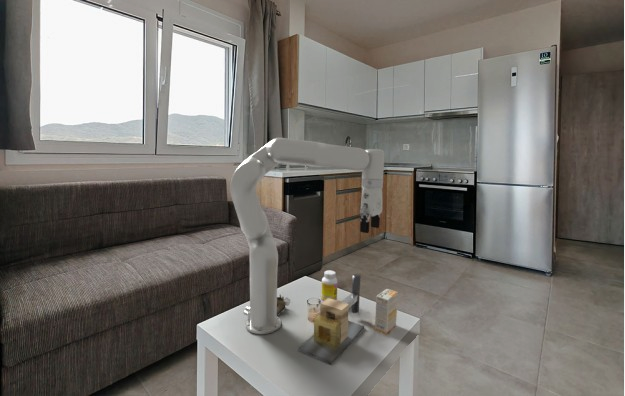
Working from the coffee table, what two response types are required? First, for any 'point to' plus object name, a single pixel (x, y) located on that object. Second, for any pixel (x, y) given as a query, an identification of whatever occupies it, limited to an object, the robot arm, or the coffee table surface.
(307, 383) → the coffee table surface
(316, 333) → the yellow square frame
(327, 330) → the block
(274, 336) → the coffee table surface
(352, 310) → the crank handle
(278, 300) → the eagle figurine
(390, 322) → the supplement box
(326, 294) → the supplement bottle
